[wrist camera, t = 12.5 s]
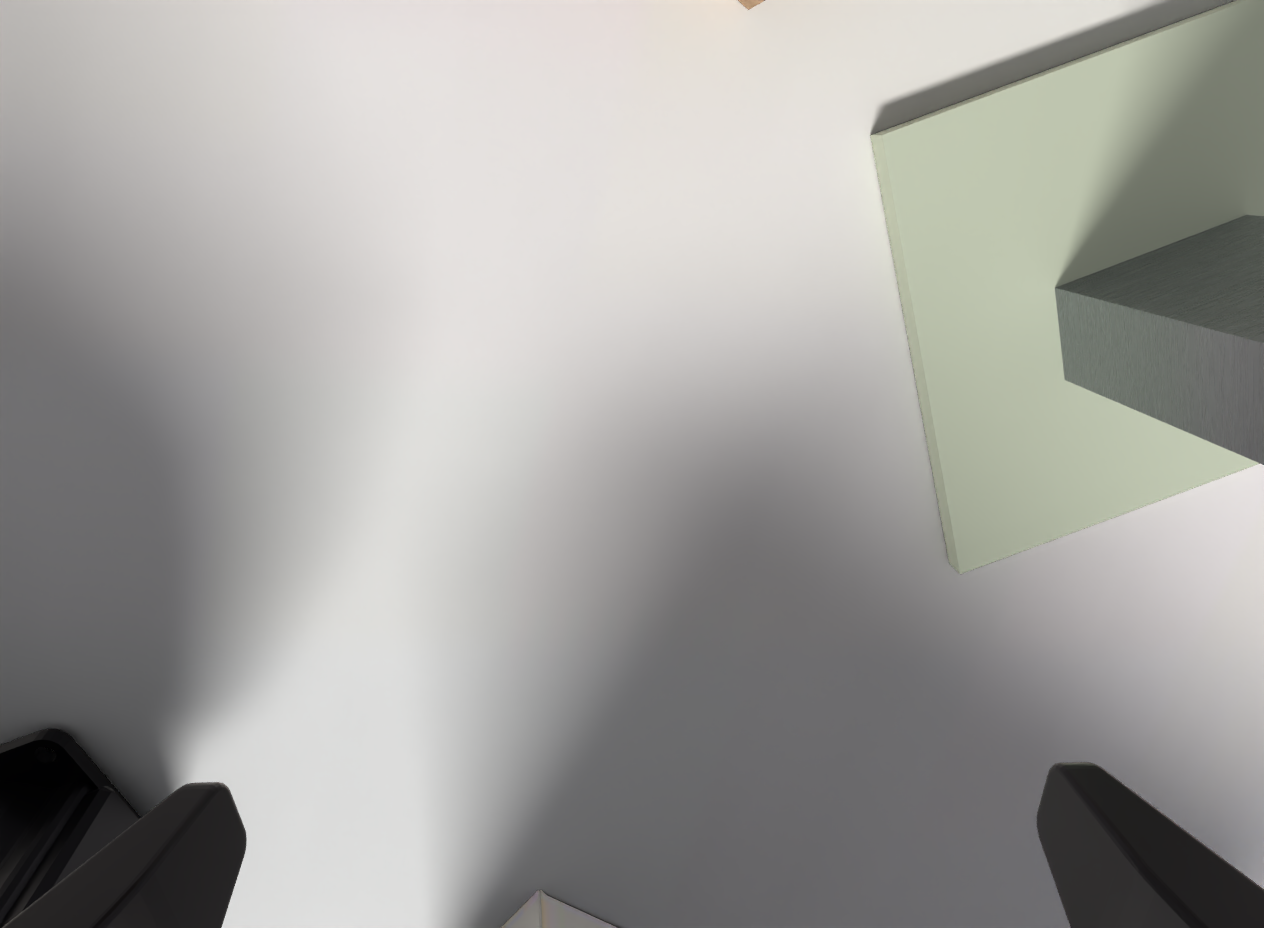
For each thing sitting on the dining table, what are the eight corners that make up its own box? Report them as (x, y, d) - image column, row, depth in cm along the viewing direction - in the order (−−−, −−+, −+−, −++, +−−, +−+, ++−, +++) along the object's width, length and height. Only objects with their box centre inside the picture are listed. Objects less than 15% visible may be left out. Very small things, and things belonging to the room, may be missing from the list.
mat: (949, 563, 22) (960, 574, 22) (870, 135, 17) (881, 135, 17) (1338, 419, 22) (1359, 427, 22) (1368, -48, 17) (1396, -55, 17)
